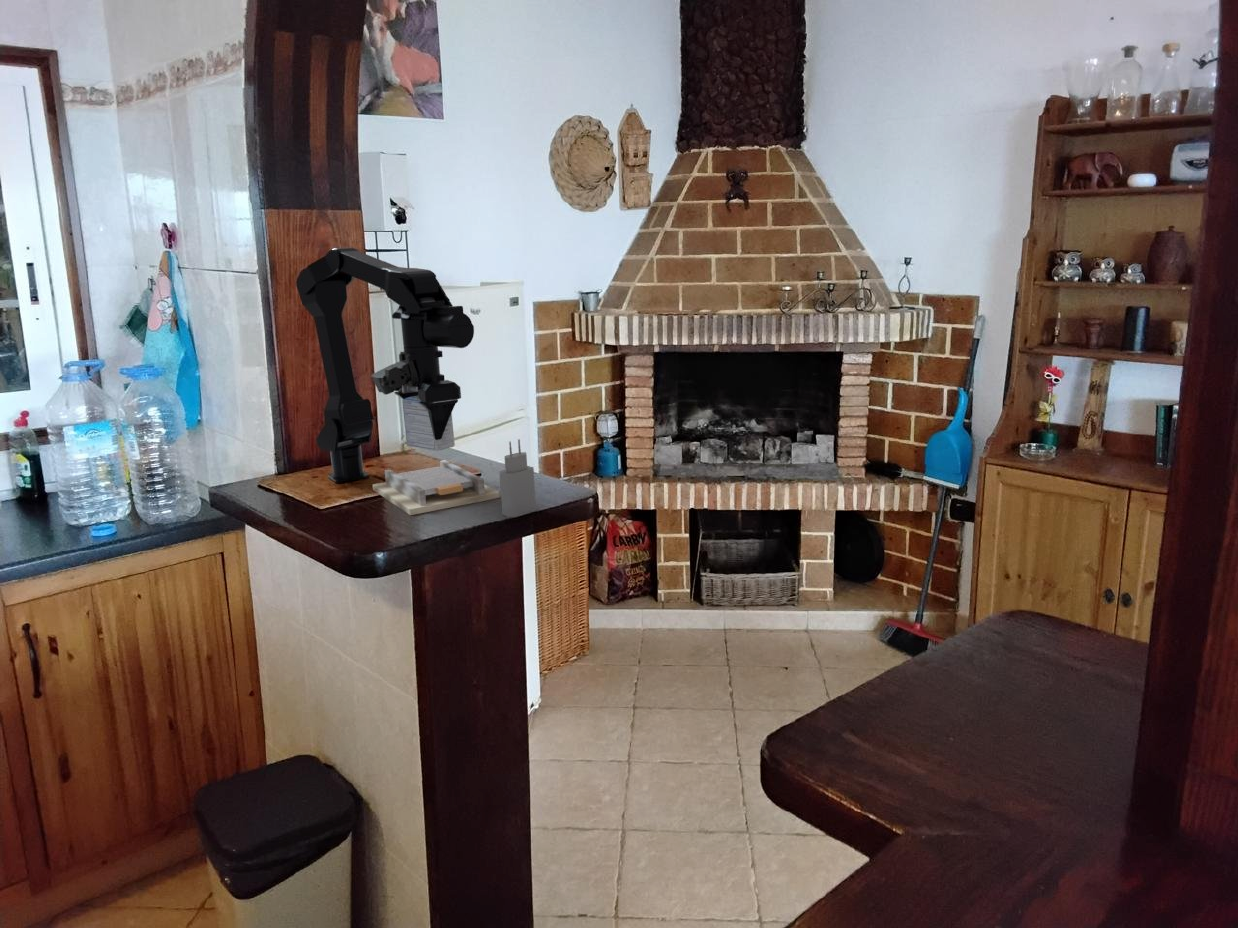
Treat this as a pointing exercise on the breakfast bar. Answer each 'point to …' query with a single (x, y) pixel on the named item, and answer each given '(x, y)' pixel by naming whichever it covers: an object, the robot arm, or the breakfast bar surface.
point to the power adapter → (517, 485)
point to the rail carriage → (438, 480)
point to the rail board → (417, 502)
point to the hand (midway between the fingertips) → (428, 435)
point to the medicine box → (424, 427)
